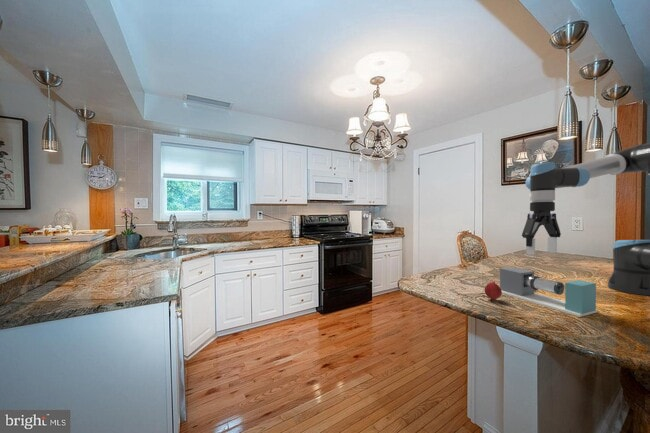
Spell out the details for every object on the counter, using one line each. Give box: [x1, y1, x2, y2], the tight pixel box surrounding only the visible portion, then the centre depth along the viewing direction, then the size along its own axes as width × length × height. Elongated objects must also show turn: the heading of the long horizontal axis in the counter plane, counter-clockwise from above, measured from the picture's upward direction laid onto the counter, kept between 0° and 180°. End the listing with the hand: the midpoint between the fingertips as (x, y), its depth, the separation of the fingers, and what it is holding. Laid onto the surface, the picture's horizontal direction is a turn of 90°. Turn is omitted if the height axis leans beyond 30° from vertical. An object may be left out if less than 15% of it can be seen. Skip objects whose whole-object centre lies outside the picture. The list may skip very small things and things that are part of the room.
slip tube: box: [524, 275, 565, 296], centre depth 101 cm, size 19×6×6 cm, turn 20°
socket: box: [564, 279, 597, 314], centre depth 87 cm, size 9×4×10 cm, turn 110°
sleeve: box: [499, 266, 535, 296], centre depth 107 cm, size 8×9×10 cm
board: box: [501, 290, 599, 318], centre depth 98 cm, size 11×28×1 cm, turn 20°
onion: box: [484, 280, 502, 301], centre depth 100 cm, size 6×6×8 cm
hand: (541, 253), depth 98 cm, fingers open, 13 cm apart
